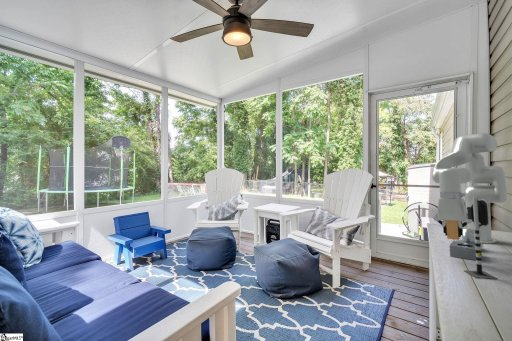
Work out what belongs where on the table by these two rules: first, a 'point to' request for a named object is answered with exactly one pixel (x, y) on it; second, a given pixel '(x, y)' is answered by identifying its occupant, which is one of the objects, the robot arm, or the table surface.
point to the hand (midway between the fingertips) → (453, 235)
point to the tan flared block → (452, 229)
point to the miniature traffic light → (478, 215)
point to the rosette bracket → (464, 246)
